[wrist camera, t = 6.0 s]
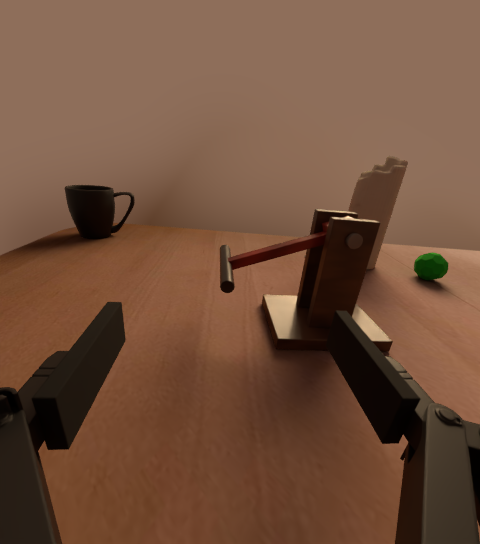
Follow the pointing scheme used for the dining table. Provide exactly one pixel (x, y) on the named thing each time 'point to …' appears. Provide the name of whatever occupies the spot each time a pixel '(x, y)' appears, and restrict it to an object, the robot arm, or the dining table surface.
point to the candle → (378, 197)
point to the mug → (94, 210)
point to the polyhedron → (430, 266)
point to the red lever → (264, 255)
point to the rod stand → (327, 286)
